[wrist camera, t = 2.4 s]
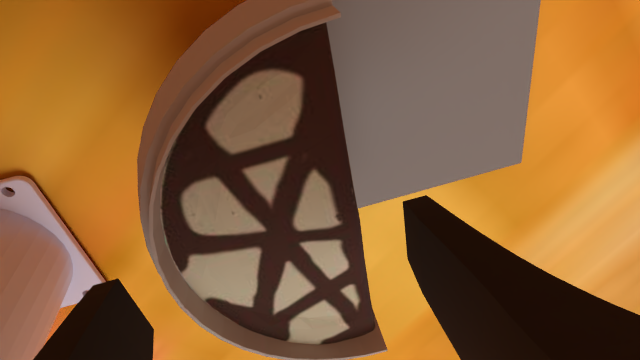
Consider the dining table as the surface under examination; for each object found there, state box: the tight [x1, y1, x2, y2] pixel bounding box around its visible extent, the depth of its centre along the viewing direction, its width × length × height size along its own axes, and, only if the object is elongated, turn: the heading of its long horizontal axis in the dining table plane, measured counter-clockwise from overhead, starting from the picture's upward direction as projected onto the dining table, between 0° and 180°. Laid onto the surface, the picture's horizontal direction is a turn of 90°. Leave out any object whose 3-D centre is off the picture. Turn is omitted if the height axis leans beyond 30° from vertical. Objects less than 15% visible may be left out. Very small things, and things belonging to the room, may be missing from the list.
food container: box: [137, 0, 387, 360], centre depth 15 cm, size 12×6×10 cm, turn 10°
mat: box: [326, 0, 540, 208], centre depth 19 cm, size 10×14×1 cm
